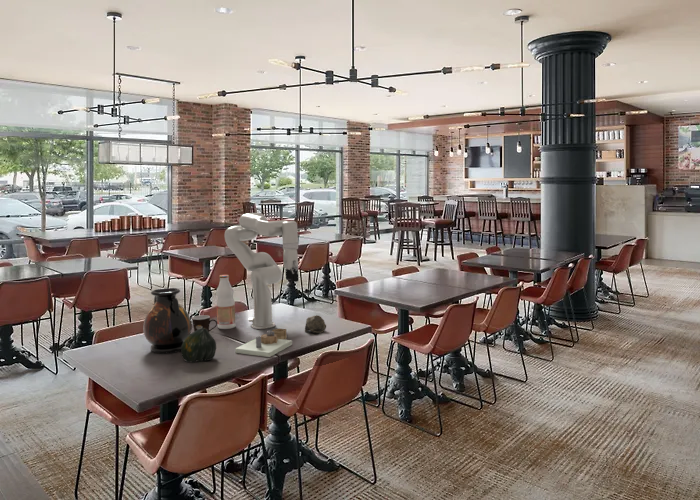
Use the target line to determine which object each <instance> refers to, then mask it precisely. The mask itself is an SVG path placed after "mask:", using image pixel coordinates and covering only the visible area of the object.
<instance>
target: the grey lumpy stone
mask: <svg viewBox="0 0 700 500" xmlns="http://www.w3.org/2000/svg"><path fill="white" fill-rule="evenodd" d="M326 329H327V324H326V322H325V320H324V319H323V317H322V316H321V315H312V316H308V317H307V319H306V322H305V326H304V332H306V333H308V332H311V333H312V334H316V335H319V334H323V333H324V332H325V330H326Z"/></svg>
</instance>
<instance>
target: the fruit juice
mask: <svg viewBox="0 0 700 500" xmlns="http://www.w3.org/2000/svg"><path fill="white" fill-rule="evenodd" d="M218 277H219V284H218V286H217V288H216V291H215V295H216V298H217V299H216V304H215V305H216V306H215V307H216V317H217V318H216V321H217V329H220V330H230V329H234V328H235V327H236V308H235V306H236V305H235V304H236V303H235V298H234V293H235V291H234V288H233V287H232V285H231V283H230V281H229V279H230V275H229V274H220V275H219V276H218Z"/></svg>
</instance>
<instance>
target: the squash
mask: <svg viewBox="0 0 700 500" xmlns="http://www.w3.org/2000/svg"><path fill="white" fill-rule="evenodd" d="M216 351H217V343H216V340H215V339H214V336H213V335H212V334H211V333H210V331H209V332H208V330H207V329H205V328H201V329H198V330H196V331H194V330H193V332H191V333H190V335H188V336H187V337H186V338H185V339H184V341H183V344H182V346H181V351H180V352H181V353H180V354H181V357H182V359H183V360H184V361H186V362H188V363H195V362H196V363H197V362H202V361H211V360H212V359H214V358H215V355H216Z"/></svg>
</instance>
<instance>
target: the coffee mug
mask: <svg viewBox="0 0 700 500" xmlns="http://www.w3.org/2000/svg"><path fill="white" fill-rule="evenodd" d="M191 322H192V325H193V326H192V327H193V332H194V331H196V330H198V329H201V328H205V329H207V330H208V332H209V333H210V332H211V331H212V330H214V329H215V328H216V327H218V325H217V319H211V316H210V315H208V314H207V315H206V314H205V315H204V314H203V315H202V314H201V315H195V316H193V317H191ZM211 322H215V326H213V327H211V329H210V324H211Z"/></svg>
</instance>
